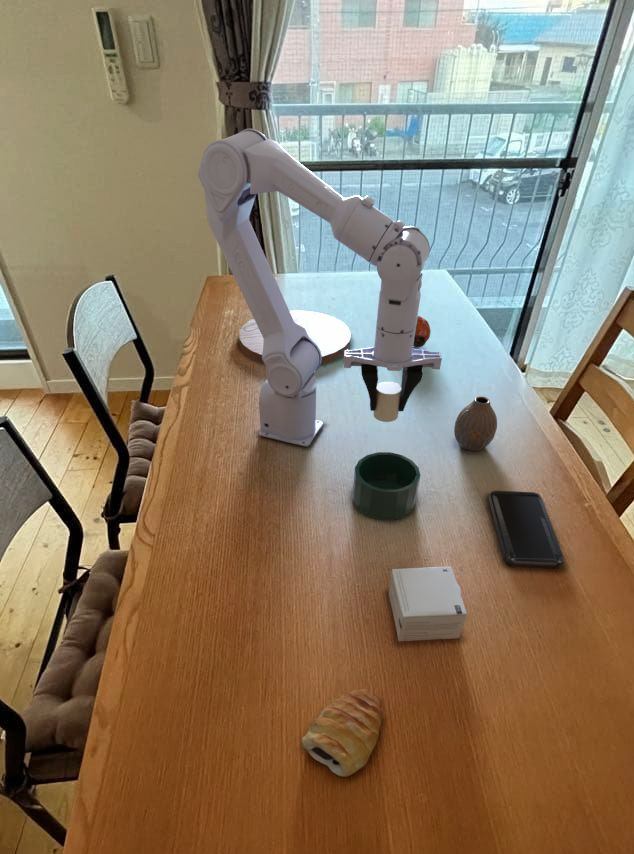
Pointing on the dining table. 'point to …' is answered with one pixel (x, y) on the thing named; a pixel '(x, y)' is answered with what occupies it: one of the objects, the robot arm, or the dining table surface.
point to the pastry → (345, 732)
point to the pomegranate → (421, 332)
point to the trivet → (319, 328)
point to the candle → (387, 401)
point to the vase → (476, 425)
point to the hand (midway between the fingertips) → (386, 407)
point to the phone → (524, 530)
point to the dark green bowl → (385, 485)
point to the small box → (426, 603)
